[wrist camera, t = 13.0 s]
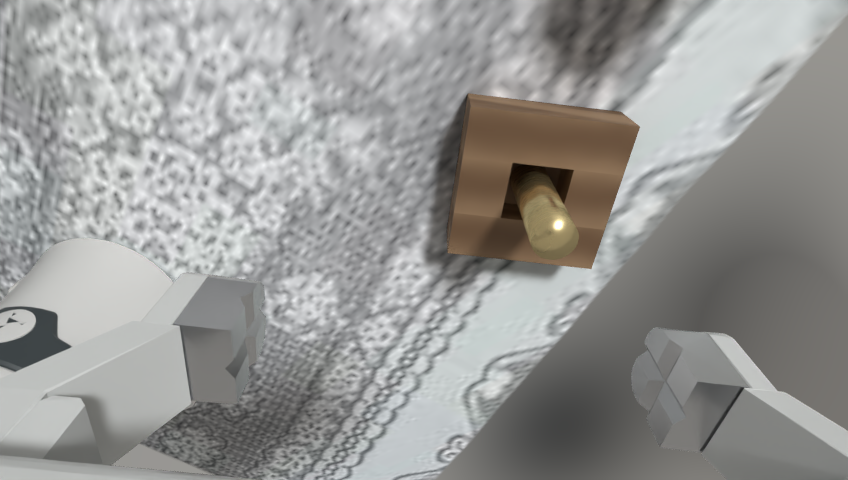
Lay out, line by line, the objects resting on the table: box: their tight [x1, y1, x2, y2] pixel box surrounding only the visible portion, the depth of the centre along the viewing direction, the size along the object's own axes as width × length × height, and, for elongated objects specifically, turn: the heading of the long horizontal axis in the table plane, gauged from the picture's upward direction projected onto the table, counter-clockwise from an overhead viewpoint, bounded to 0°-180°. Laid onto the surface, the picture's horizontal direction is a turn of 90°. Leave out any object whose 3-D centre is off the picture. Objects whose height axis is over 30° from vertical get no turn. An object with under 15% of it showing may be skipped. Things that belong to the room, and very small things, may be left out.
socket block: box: [447, 94, 640, 269], centre depth 38 cm, size 12×12×4 cm
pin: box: [510, 164, 579, 260], centre depth 34 cm, size 3×3×10 cm
